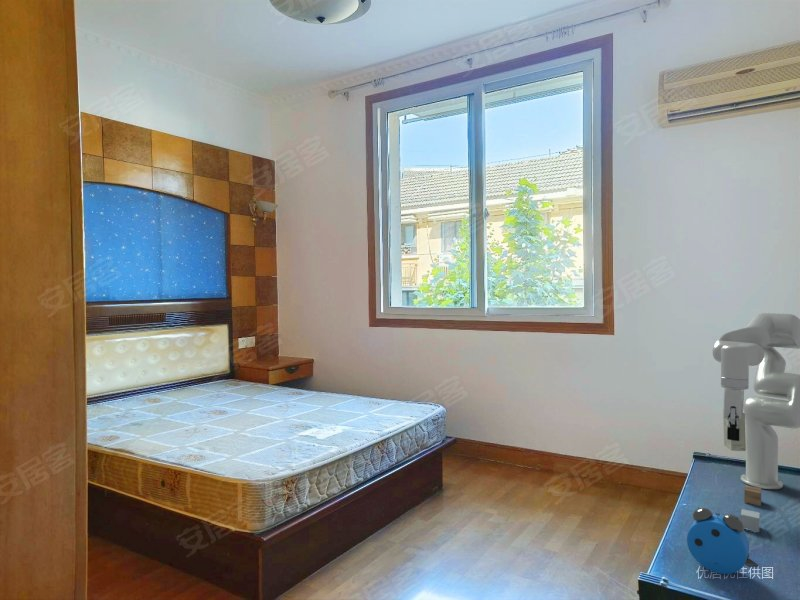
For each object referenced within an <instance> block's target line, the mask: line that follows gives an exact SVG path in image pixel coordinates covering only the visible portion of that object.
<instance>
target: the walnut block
mask: <svg viewBox="0 0 800 600" xmlns="http://www.w3.org/2000/svg"><path fill="white" fill-rule="evenodd" d="M743 491H744V495H743V496H744V499H743V503H744V502H745V503H744V504H748V503H749V504H748V505H752V504H755V505H754V506H757V505H760V506H759V507H761V505H762V488H758V487H754V486H751V485H747V484H746V485H744V490H743Z"/></svg>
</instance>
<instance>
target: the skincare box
mask: <svg viewBox="0 0 800 600" xmlns="http://www.w3.org/2000/svg"><path fill="white" fill-rule="evenodd" d="M723 412H724V408H723V409H722V413H723ZM730 416H731V413H730ZM735 418H737V417H735ZM722 420H723V423H722V426H723V427H722V429H723V430H722V431H723V446H724V447H726V448H727V449H729V450H730V451H734V452H746V420H745V413H744V412H743V413H742V418H741V420H739V426H738V428H739V441H734V440H728V439H727V427H728V417H727V418H724V417H723V416H722ZM736 422H737V421H736Z"/></svg>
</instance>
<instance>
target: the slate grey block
mask: <svg viewBox="0 0 800 600" xmlns="http://www.w3.org/2000/svg"><path fill="white" fill-rule="evenodd" d="M760 514H761V513H760V512H758V511H753V510H750V509H743V508H741V512H740V520H741V521H742V522H743V524H744V528H748V529H751V530H753V531H756V532H759V533H760V524H761V523H760V521H761V520H760V518H761V516H760ZM756 532H755V533H756Z"/></svg>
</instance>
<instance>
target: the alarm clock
mask: <svg viewBox="0 0 800 600" xmlns="http://www.w3.org/2000/svg"><path fill="white" fill-rule="evenodd" d="M692 519H693V523H692V524H691V526H690V528H689V530H688V532H687V535H686V543H687V548H688V550H689V552H690V554H691V556H692V557H693V558H694V559H695V561H696V562H697V563H699V565H701V566H702V567H704V568H705V569H706V570H708V571H711V572H713V573H716V574H721V575H730V574H735V573H738V571H741V570H742V568H744V567H745V562H746V559H747V556H748V553H749V552H750V542H749V539H748V537H747V534H746V533H745V530H744V524H743V522H742V521H741V518H740V517H738V516H736V515H734V514H731V513H727V514H724V515H721V514H720V513H716V512H715V513H713V511H711V509H709V508H707V507H697V508H696V509H695V510H694V511H693V512H692ZM749 554H750V553H749Z"/></svg>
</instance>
